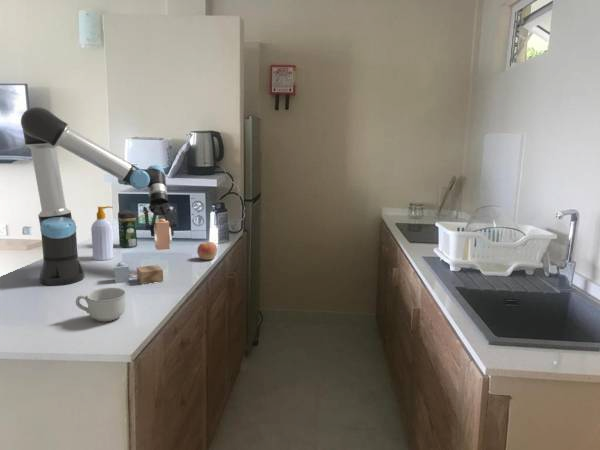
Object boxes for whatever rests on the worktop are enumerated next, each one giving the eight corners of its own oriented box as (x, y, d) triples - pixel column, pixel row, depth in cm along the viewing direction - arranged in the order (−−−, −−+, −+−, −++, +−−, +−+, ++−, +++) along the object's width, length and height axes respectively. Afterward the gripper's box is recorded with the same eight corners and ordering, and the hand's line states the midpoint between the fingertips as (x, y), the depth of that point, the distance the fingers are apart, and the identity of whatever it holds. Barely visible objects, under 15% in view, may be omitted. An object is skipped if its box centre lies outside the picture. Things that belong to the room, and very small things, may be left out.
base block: (141, 285, 171) (141, 272, 170) (137, 279, 178) (136, 267, 177) (163, 282, 175) (162, 269, 174) (158, 277, 182) (157, 264, 181)
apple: (215, 261, 206) (214, 244, 204) (195, 261, 206) (195, 244, 204) (218, 257, 214) (218, 240, 213) (200, 256, 214) (199, 240, 213)
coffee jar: (117, 245, 235) (115, 209, 231) (133, 243, 239) (131, 208, 236) (123, 249, 227) (121, 212, 224) (139, 247, 232) (137, 211, 228)
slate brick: (115, 283, 172) (114, 265, 171) (115, 279, 177) (114, 262, 176) (129, 281, 174) (128, 264, 173) (128, 278, 179) (127, 261, 177)
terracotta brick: (156, 249, 183) (156, 220, 181) (155, 247, 187) (154, 218, 186) (169, 249, 185) (169, 220, 183) (168, 246, 189) (167, 218, 187)
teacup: (131, 311, 144) (130, 287, 142) (119, 325, 133) (118, 299, 131) (86, 311, 143) (85, 287, 142) (70, 325, 132) (69, 298, 131)
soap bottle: (115, 259, 206) (112, 207, 202) (92, 261, 203) (89, 208, 199) (115, 255, 214) (112, 205, 210) (93, 256, 211) (90, 205, 206)
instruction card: (133, 277, 179) (133, 276, 179) (125, 274, 183) (124, 274, 183) (151, 273, 186) (151, 272, 186) (142, 270, 189) (142, 270, 189)
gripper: (179, 201, 201) (185, 246, 189) (135, 202, 194) (139, 248, 182) (180, 191, 195) (187, 235, 183) (136, 191, 188) (139, 237, 176)
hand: (163, 241), depth 182 cm, fingers closed on terracotta brick, 5 cm apart
